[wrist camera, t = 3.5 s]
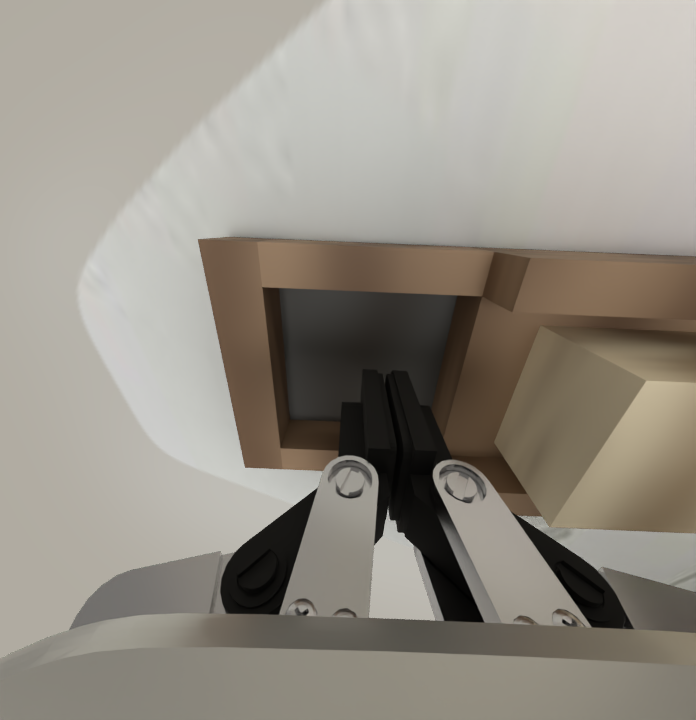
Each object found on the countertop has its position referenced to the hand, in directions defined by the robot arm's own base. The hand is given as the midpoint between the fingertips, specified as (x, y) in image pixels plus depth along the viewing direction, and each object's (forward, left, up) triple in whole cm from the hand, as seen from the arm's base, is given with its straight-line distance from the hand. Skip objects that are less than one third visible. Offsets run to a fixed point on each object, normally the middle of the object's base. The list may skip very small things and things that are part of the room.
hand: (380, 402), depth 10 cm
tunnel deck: (-9, 0, -4) cm, 10 cm away
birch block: (-9, 0, -1) cm, 9 cm away
